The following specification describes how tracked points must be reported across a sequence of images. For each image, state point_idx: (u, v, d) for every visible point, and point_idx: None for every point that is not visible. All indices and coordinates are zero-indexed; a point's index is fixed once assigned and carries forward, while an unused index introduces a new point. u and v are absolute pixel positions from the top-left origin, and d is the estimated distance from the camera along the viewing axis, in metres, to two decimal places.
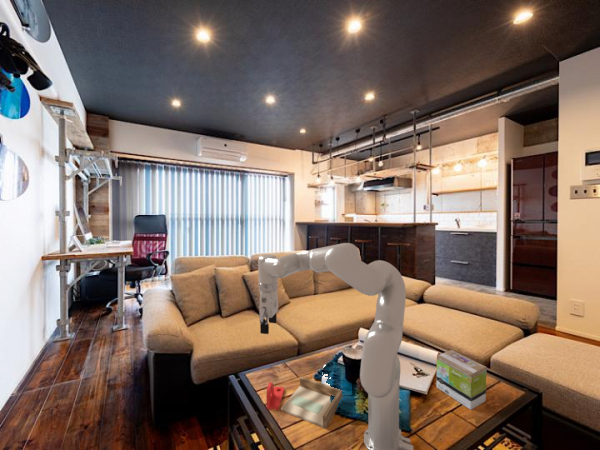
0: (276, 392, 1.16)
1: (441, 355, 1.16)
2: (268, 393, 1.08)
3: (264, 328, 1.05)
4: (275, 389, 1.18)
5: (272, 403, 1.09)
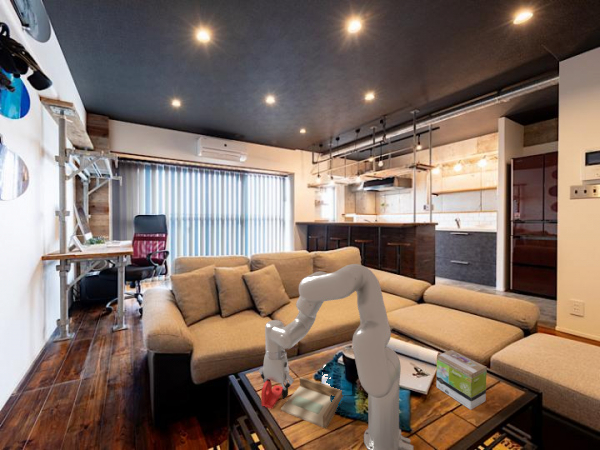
0: (275, 391, 1.16)
1: (441, 355, 1.16)
2: (263, 391, 1.09)
3: (287, 391, 1.11)
4: (274, 388, 1.18)
5: (267, 401, 1.10)
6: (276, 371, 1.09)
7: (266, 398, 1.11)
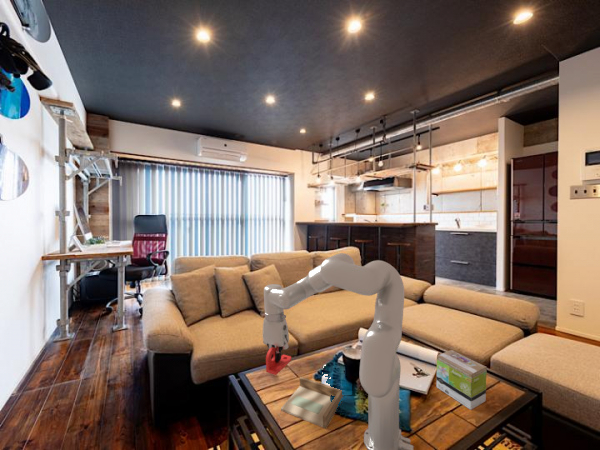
0: (282, 359, 1.13)
1: (441, 355, 1.16)
2: (267, 356, 1.07)
3: (280, 355, 1.11)
4: (282, 356, 1.15)
5: (272, 367, 1.08)
6: (275, 334, 1.08)
7: (271, 364, 1.08)
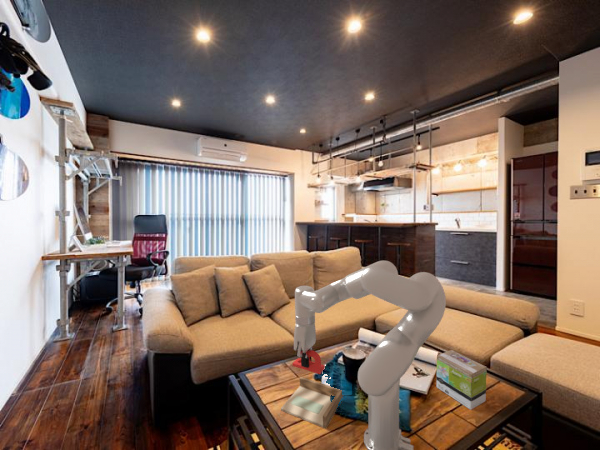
0: None
1: (441, 355, 1.16)
2: (319, 357, 1.04)
3: None
4: (297, 363, 1.09)
5: None
6: (313, 333, 1.07)
7: None
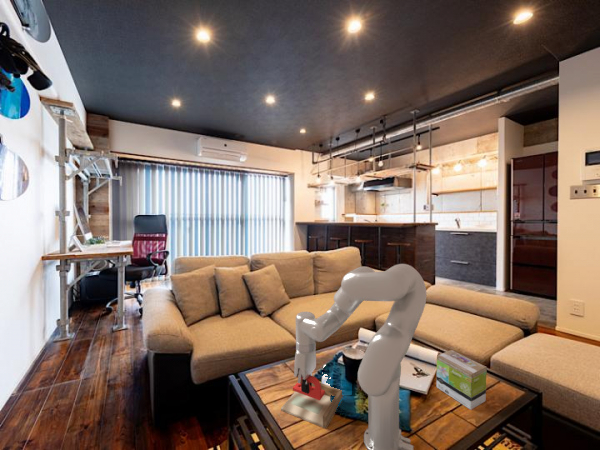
0: None
1: (441, 355, 1.16)
2: (319, 383, 1.05)
3: None
4: (297, 388, 1.10)
5: None
6: (314, 359, 1.08)
7: None
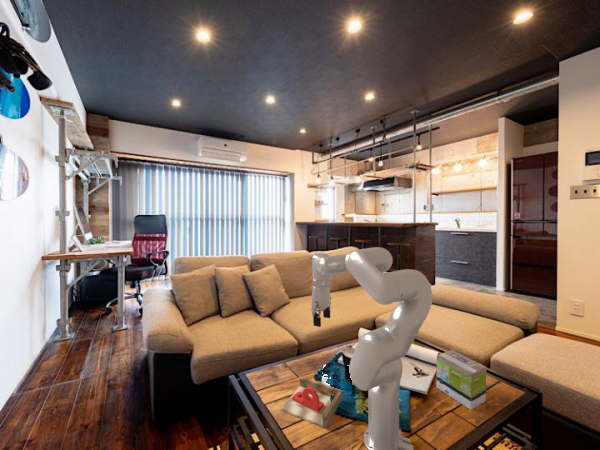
0: (302, 398, 1.10)
1: (441, 355, 1.16)
2: (317, 395, 1.04)
3: None
4: (297, 397, 1.10)
5: None
6: (328, 296, 1.19)
7: None
